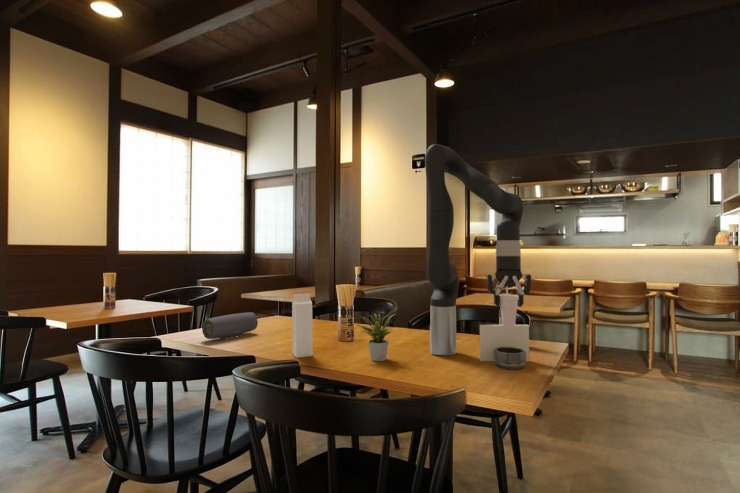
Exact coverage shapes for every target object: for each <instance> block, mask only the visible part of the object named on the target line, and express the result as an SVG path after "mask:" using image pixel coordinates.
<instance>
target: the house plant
mask: <svg viewBox="0 0 740 493" xmlns="http://www.w3.org/2000/svg"><path fill="white" fill-rule="evenodd" d="M373 314H374V318H373V316H371V315H370V317H371V319H372V321H371V320H370V319H368V318H367V317H364V316H362V319H363V320H364V321H365V322H366V323H367V324H368V326H370V327H371V328H369V327H368V326H365V325H363V324H362V325H361V324H356V326H357V327H360V328H359V329H362V330H363V331H361V332H360V334H362V333H366V334H368V335H369V336H370V337H371V338H372V339H370V340H368V341H367V343H368V349H369V354H370V359H371V361H373V362H384V361H386V360H387V357H388V356H387V355H388V349H389V348H388V347H389V342H390V341H389V340H388V339H385V337H386V336H387V335H388V334H391V333H393V330H392V329H391V328H389V329H388V328H387V327H388V326H389V324H390V323H391V322H390V321H391V318H392V317H393V316H395V315H396V314H395V313H394V314H391V315H389V314H387V315H384V317H383V318H382V319H381V315H380V313H378V316H377V314H376V313H375V312H374V313H373ZM359 317H360V318H361V315H360V316H359ZM384 320H385V321H384ZM383 323H384V324H383ZM382 325H383V326H382Z"/></svg>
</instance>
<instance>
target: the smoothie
mask: <svg viewBox="0 0 740 493" xmlns="http://www.w3.org/2000/svg"><path fill="white" fill-rule="evenodd" d="M505 294H506V295H501V294H499V295H500V307H499V309H500V308H501V316H502V324H503V326H506V327H514V326H515V320H516V319H517V318H516V317H517V312H518V311H517V310H518V305H517V304H518V299H519V296H517V295H518V294H517V295H516V294H512V295H508V294H509V286H505ZM516 321H517V320H516Z"/></svg>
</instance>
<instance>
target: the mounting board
mask: <svg viewBox="0 0 740 493" xmlns="http://www.w3.org/2000/svg"><path fill="white" fill-rule="evenodd" d="M498 347H514V348H520V349H523V350H524V351H526V362H530V325H529V324H516V325H515V326H514V327H506V326H503V325H499V324H479V362H495V359H494V349H495V348H498Z"/></svg>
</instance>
